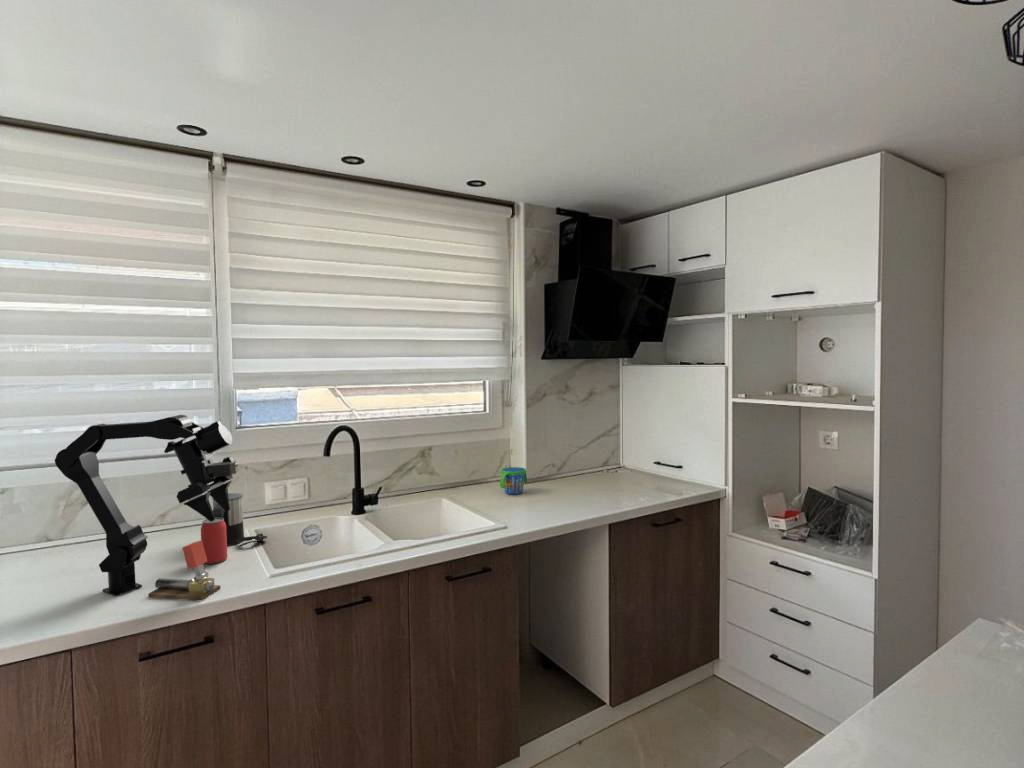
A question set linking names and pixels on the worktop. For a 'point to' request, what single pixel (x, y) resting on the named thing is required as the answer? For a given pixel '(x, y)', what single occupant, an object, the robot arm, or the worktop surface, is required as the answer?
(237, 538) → the milk frother
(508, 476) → the snack cup
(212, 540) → the beer can
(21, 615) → the worktop surface
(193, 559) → the valve lever
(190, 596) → the walnut board
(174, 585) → the valve body
